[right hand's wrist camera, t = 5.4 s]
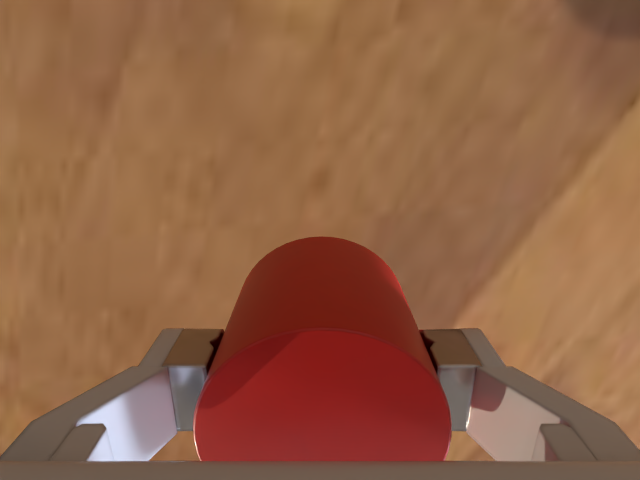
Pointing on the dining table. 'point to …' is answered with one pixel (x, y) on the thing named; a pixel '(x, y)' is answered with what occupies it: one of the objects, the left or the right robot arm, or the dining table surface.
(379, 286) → the can
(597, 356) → the dining table surface
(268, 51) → the dining table surface
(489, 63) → the dining table surface
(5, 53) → the dining table surface
